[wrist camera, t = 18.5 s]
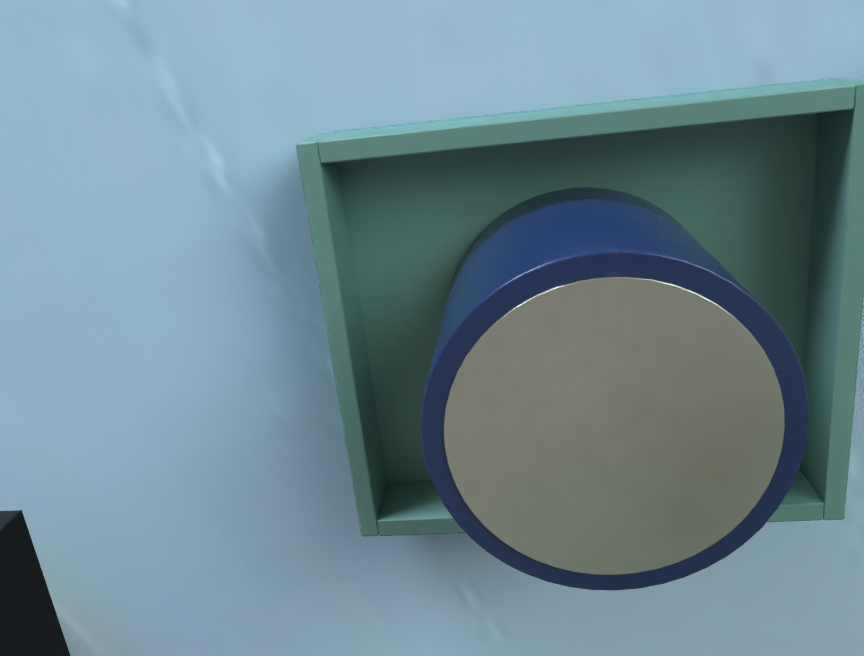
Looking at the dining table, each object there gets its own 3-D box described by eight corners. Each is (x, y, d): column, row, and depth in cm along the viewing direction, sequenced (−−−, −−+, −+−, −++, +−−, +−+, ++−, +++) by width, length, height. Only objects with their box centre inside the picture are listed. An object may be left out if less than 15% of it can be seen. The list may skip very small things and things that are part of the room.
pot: (460, 444, 33) (432, 201, 30) (715, 430, 32) (718, 172, 28) (441, 599, 24) (396, 270, 20) (801, 588, 23) (823, 232, 19)
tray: (375, 488, 36) (361, 537, 32) (320, 132, 30) (294, 143, 26) (808, 469, 33) (844, 519, 30) (834, 77, 28) (882, 81, 24)
